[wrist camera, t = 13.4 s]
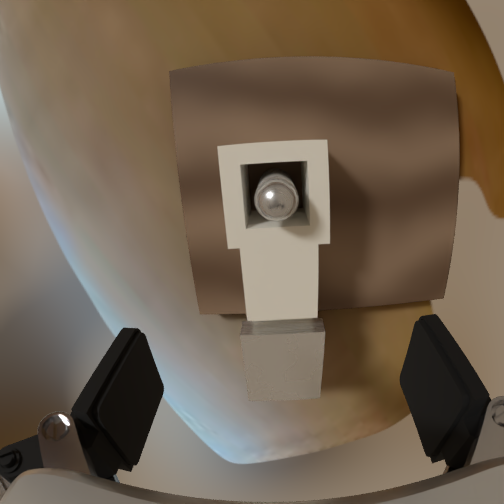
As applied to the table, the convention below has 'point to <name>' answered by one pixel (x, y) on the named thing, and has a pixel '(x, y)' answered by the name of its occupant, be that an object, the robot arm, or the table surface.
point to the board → (340, 170)
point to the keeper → (283, 358)
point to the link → (277, 229)
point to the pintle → (276, 195)
